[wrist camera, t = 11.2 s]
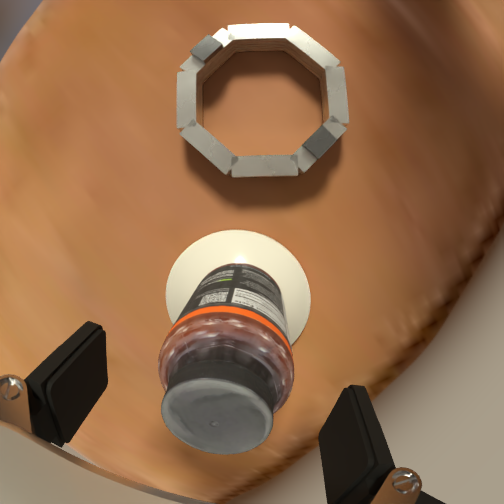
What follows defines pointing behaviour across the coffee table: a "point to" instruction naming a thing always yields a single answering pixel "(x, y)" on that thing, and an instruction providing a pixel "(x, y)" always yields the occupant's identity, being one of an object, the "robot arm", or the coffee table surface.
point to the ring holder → (261, 39)
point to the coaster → (241, 251)
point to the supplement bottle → (227, 362)
